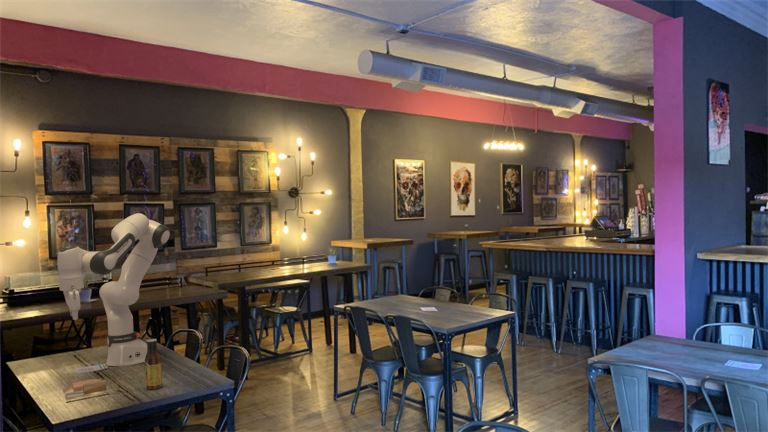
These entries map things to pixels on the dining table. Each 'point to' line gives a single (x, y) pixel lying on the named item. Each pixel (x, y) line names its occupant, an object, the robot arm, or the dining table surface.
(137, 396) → the dining table surface
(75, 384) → the tile
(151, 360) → the sauce bottle
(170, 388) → the dining table surface
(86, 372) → the dining table surface
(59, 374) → the dining table surface
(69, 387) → the board
